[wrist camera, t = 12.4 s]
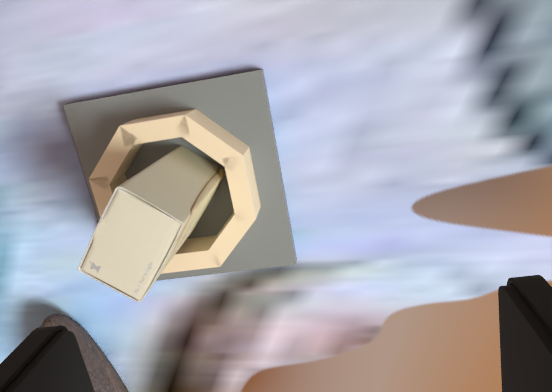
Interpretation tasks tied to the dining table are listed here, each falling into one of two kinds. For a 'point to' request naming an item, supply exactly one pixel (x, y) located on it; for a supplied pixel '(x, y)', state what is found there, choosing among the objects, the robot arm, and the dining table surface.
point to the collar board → (210, 145)
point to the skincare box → (150, 221)
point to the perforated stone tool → (91, 356)
